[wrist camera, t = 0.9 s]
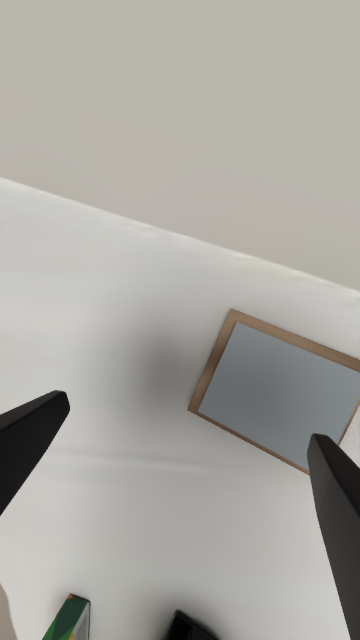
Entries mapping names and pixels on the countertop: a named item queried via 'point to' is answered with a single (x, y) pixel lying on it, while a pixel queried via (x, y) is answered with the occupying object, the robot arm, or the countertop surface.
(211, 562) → the countertop surface
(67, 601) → the crayon box
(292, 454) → the top brick
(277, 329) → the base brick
